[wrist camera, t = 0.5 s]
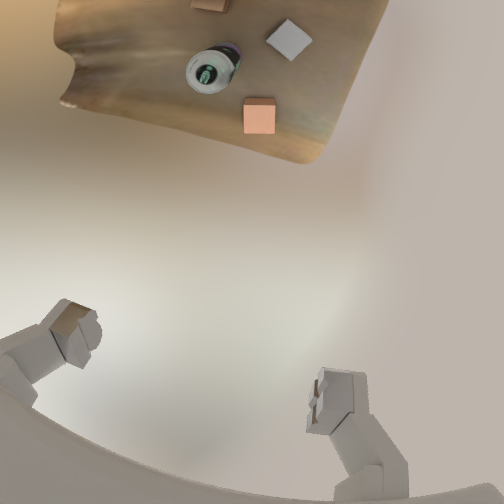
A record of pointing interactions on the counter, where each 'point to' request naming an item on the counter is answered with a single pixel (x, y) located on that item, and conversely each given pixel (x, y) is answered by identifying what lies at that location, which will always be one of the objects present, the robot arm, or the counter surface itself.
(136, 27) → the counter surface
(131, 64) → the counter surface
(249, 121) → the terracotta block
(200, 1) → the walnut block
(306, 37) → the charcoal block
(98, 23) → the counter surface
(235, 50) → the spray can
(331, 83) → the counter surface
